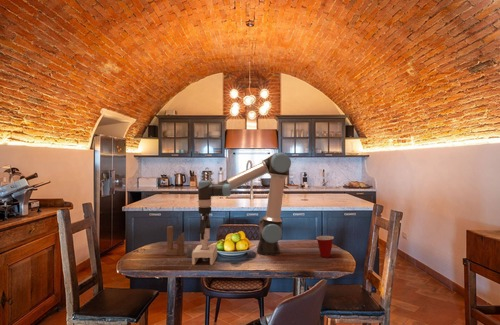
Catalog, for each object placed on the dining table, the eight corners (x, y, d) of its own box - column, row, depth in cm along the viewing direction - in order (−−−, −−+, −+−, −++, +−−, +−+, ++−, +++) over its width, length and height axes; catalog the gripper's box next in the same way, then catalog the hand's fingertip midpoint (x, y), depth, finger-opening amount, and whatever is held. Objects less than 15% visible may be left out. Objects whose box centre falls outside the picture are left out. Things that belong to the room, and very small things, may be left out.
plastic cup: (320, 252, 206) (320, 234, 206) (336, 255, 200) (336, 236, 200) (313, 256, 198) (313, 237, 197) (329, 259, 191) (329, 239, 191)
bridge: (217, 256, 200) (217, 245, 200) (212, 264, 184) (212, 252, 184) (198, 256, 200) (198, 244, 200) (192, 264, 184) (191, 252, 184)
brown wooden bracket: (182, 255, 201) (182, 227, 201) (166, 255, 202) (166, 227, 202) (184, 254, 205) (184, 226, 204) (168, 253, 205) (167, 225, 205)
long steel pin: (208, 259, 194) (208, 236, 194) (207, 261, 190) (207, 237, 190) (202, 259, 194) (202, 236, 194) (201, 261, 190) (201, 237, 190)
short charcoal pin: (193, 255, 201) (193, 244, 201) (191, 257, 198) (191, 246, 198) (188, 255, 202) (188, 244, 201) (186, 257, 198) (186, 245, 198)
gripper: (202, 203, 204) (203, 236, 205) (193, 209, 179) (194, 247, 180) (214, 203, 204) (214, 236, 204) (207, 209, 179) (207, 247, 179)
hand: (205, 241), depth 192 cm, fingers open, 13 cm apart
